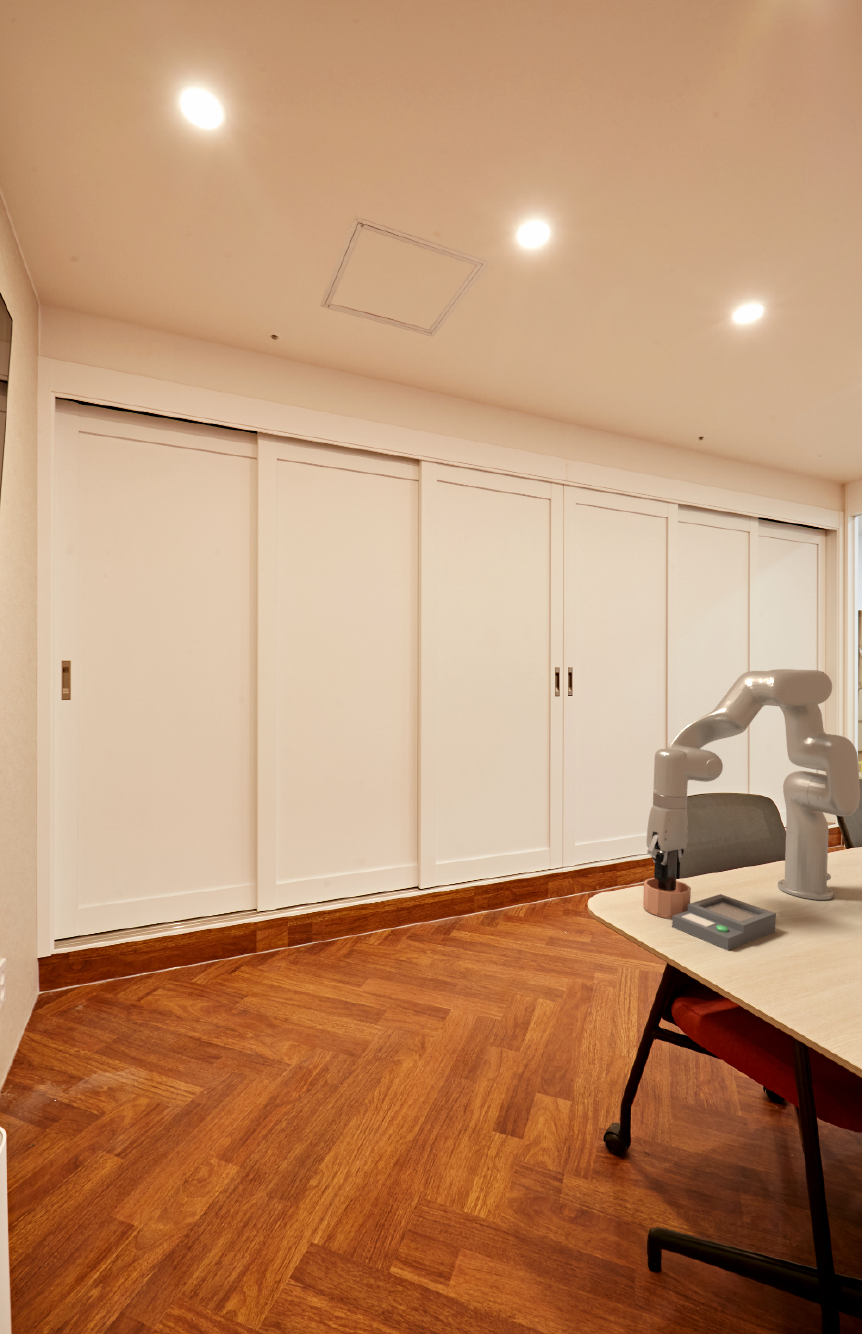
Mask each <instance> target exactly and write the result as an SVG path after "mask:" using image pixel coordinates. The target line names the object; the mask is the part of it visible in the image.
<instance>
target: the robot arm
mask: <svg viewBox="0 0 862 1334" xmlns="http://www.w3.org/2000/svg"><path fill="white" fill-rule="evenodd" d="M832 691H833V683H832V681H831V678H830V676H829V675H828V674H826V672H823V671H821V670H817V669H794V668H793V669H789V668H787V669H786V668H785V669H784V668H782V669H779V668H777V669H770V670H750V671H747V672H744V673H742V674H741V675H740V676H739V677H738V678H737V679H736V681H735V682H734V683H733V684H732V685H731V686H730V688H729V690H728V691H727V692H726V694H725V695H724V696H723V697H722V698H721V700H720V701H719V703H718V704H717V706H715V708H714V709H713V710H712V711H710V712H708V713H707V714H705V715H703V716H701V717H699V718H698V719H696V720H695V721H693V722H692V723H689V724H688V725H686V726H685V727H684V728H683V729H681V730H680V731H679V732H678V734H676V736H675V737H674V738H673V740H672V741H671V742H670V744H669V745H668V747H667V748H660V749H658V750H656V751H655V754H654V767H653V770H654V771H653V789H652V790H653V792H652V806H651V807H650V811H649V816H648V821H647V830H646V846H647V848H648V849H647V852H646V853H647V854H648V855H649V856H650V857H651V858H652V861H653V863H654V871H653V873H654V874H653V878H655V879H657V880H660V881H663V882H667V877H668V865H666V861H667V854H668V852H670V851H674V850H677V872H676V880H678V879H680V878H681V876H680V874H681V862H682V861H683V855H684V852H685V850H686V849H687V848H688V845H689V843H688V840H689V823H688V822H689V821H688V819H689V818H688V781H694V782H695V781H696V782H704V783H705V782H706V783H707V782H712V781H715V780H717V779H718V778H719V777H720V776H721V774H722V773H723V768H724V764H723V761H722V759H721V758H720V757H719V755H718V754H716V753H715V752H713V751H710V750H707V749H702V748H703V747H704V746H706V745H708V744H710V743H713V742H715V741H719V740H723V739H727V738H728V739H729V738H732V737H734V736H737V735H741V734H743V733H744V732H745V731H747V729H748V727H749V726H750V724H751V723H752V722H753V720H754V719H755V718H756V716H757V715H758V714H759V713H760V711H761V710H762V708H763V707H765V706H771V707H772V706H773V707H779V708H780V709H781V712H782V714H783V716H784V725H785V737H786V750H787V757H788V760H789V761H790V763H792V764H793V765H795V766H798V767H801V768H805V769H806V768H807V769H812V770H817V771H823V772H825V773H826V774H823V773H817V772H813V771H807V770H805V771H804V770H797V771H794V772H791V773H789V774H788V775H787V776H786V777H785V779H784V781H783V785H782V788H783V789H782V790H783V797H784V803H785V804H784V805H785V808H786V810H785V813H786V825H785V826H786V829H785V855H784V859H785V861H784V879H780V880H778V882H777V888H779V889H780V890H781V891H783V892H784V893H787V894H789V895H792V896H795V897H799V898H801V899H802V898H803V899H809V900H817V901H819V900H820V901H821V900H824V901H827V900H830V899H833V897H834V891H833V890H832V889H831V888H829V887H828V886H827V885H828V884H827V883H828V881H829V880H831V879H832V876H831V874H830V873H828V861H829V860H828V857H829V855H828V854H829V833H830V832H829V824H828V822H827V821H828V820H827V818H826V816H825V814H829V815H833V816H837V817H850V816H851V815H853V814H855V812H856V811H857V810H858V808H859V806H860V801H861V800H860V799H861V798H860V797H861V795H860V794H861V791H860V789H861V787H860V775H859V774H860V772H859V770H860V769H859V756H858V751H857V749H856V747H855V744H854V743H853V742H852V741H851V740H850V739H848V738H847V737H845V736H842V735H839V734H838V735H837V734H830V733H826V732H825V729H824V721H823V714H822V711H821V709H820V708H821V707H820V706H819V705H821V704H822V703H825V702H826V701H827V700H828V699H829V698H830V697H831V694H832ZM824 813H825V814H824ZM659 848H660V849H659ZM659 852H660V853H663V854H662V857H661V855H660V854H659Z"/></svg>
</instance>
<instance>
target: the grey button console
mask: <svg viewBox="0 0 862 1334" xmlns="http://www.w3.org/2000/svg"><path fill="white" fill-rule="evenodd" d="M721 902H726V903H729V904H731V905H734V906H737V907H740V908H743V909H746V910H748V911H751V912H754V913H757V914H759V915H757V916H754V917H751V918H749V919H746V920H743V921H738V920H735V919H733V918H730V917H727V916H725V915H722V914H719V913H717V912H714V911H711V910H709V909H706V908H705V907H708V906H711V905H714V904H718V903H721ZM776 917H777V913H776V912H773V911H771V910H767V909H764V908H762V907H759V906H756V905H753V904H750V903H748V902H744V901H742V900H738V899H737V898H732V897H730V896H727V895H724V894H721V893H720V894H717V895H713V896H709V897H707V898H704V899H701V900H698V901H694V902H692V903H691V902H690V904H688V911H686V912H683V913H680V914H676V915H673V919H671V920H672V921H671V922H672V923H671V925H672V926H671V927H672V928H674V929H676V930H677V931H681V932H684V933H685V934H688V935H690V936H692V937H696V938H698V939H700V940H702V941H704V942H706V943H707V942H708V943H709V944H712V945H714V946H716V947H718V948H721V949H724V950H725V951H731V950H733V949H735V948H738V947H740V946H742V945H745V944H748V943H750V942H753V941H755V940H757V939H760V938H763V937H765V936H768V935H770V934H772V933H775V932H776V921H777V920H776Z"/></svg>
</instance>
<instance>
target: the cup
mask: <svg viewBox="0 0 862 1334" xmlns="http://www.w3.org/2000/svg"><path fill="white" fill-rule="evenodd" d="M691 891H692V888H691V887H690V886H689V885H688V884H687V883H684V882H682V881H679V880H676V890H674V891H667V890H662V889H660V888H658V880H657V879H655V878H654V877H650V878H647V879H645V880H644V883H643V898H642V899H643V901H642V904H643V909H644V911H645V912H647V913H649V914H650V915H652V916H655V917H657V918H662V919H666V920H672V919H673V915H676V914H680V913H683V912H686V911H688V904H690V903H691V897H692V896H691V895H692V893H691Z"/></svg>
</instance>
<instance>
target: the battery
mask: <svg viewBox="0 0 862 1334" xmlns="http://www.w3.org/2000/svg"><path fill="white" fill-rule="evenodd" d="M659 849H660V847H659ZM659 854H660V855H661V857H662V854H663V853H660V852H659ZM666 865H668V877H667V882H663V881H660V880H658V888H660V889H662V890H667V891H674V890H676V881H677V879H676V872H677V850H674V851H670V852H668V854H667V861H666Z"/></svg>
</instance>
